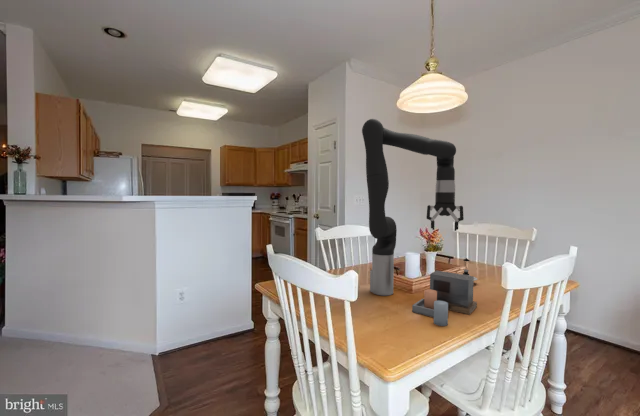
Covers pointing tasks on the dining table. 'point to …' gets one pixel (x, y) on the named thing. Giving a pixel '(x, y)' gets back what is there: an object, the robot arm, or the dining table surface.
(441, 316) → the slate part
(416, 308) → the tray
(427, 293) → the terracotta part
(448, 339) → the dining table surface
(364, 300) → the dining table surface
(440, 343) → the dining table surface
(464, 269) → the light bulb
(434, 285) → the unit
